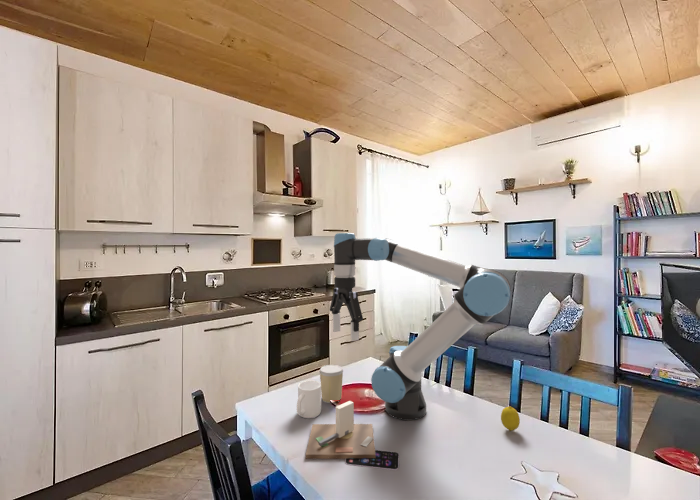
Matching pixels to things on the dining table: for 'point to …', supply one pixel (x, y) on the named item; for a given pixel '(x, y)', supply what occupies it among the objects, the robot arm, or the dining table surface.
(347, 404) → the beige flat block
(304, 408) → the mug
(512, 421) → the lemon
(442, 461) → the dining table surface
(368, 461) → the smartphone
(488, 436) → the dining table surface
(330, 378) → the coffee cup
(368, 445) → the board
